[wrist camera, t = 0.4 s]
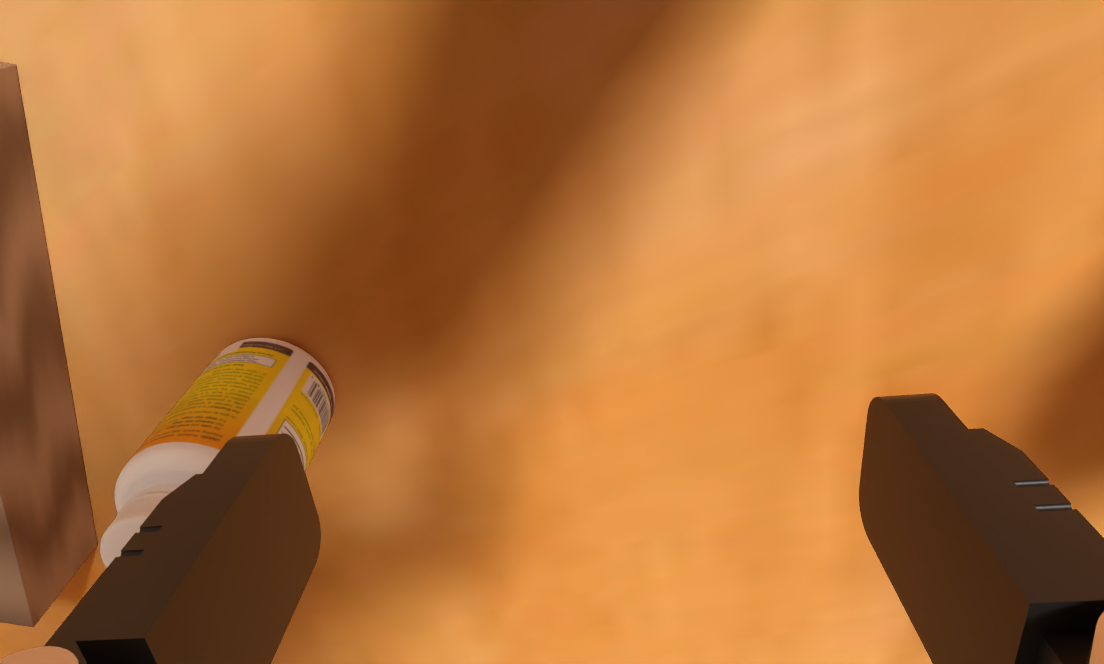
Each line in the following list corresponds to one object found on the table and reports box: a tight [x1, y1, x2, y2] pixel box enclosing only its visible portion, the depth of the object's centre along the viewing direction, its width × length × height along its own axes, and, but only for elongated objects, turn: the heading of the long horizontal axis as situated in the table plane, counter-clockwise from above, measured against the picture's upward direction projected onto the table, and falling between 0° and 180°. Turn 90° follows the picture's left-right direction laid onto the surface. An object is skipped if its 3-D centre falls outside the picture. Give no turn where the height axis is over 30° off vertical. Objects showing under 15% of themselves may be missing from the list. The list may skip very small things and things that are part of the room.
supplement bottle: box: [100, 338, 335, 568], centre depth 28 cm, size 6×6×10 cm
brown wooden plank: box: [0, 62, 97, 627], centre depth 29 cm, size 24×2×5 cm, turn 169°
